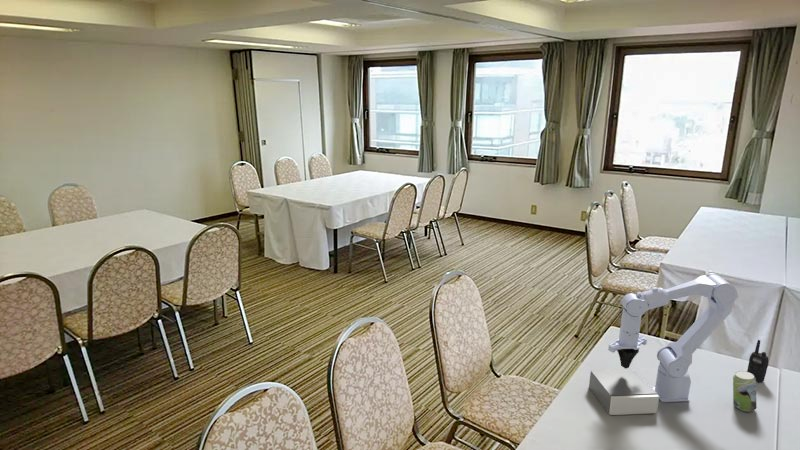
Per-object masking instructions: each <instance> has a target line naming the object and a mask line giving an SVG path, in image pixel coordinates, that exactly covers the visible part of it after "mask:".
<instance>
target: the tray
mask: <svg viewBox="0 0 800 450" xmlns="http://www.w3.org/2000/svg"><path fill="white" fill-rule="evenodd" d="M659 402H660V399H659V396H658V395H634V396H611V401H610V409H609V413H608V414H609V415H610V416H619V415H620V416H621V415H641V414H643V415H644V414H657V413H658V408H659V407H658V406H659Z"/></svg>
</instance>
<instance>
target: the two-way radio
mask: <svg viewBox="0 0 800 450" xmlns="http://www.w3.org/2000/svg"><path fill="white" fill-rule="evenodd" d="M760 345H761V339H757V342H756V346H755V350H754V351H753V352H751V354H750V355H749V359H748V365H747V370H746V372H749V373H752V374H753V375H754V377H755V378H756V381H757V383H759V384H760V383H764V382H765V377H766V374H767V370H768V366H769V357H768V356H767V353H766V351H762V352H761V353H760V347H761V346H760Z"/></svg>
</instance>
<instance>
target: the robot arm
mask: <svg viewBox="0 0 800 450" xmlns="http://www.w3.org/2000/svg"><path fill="white" fill-rule="evenodd" d="M695 295H698V296H699V295H700V296H702V297H705V298H707V299H708V303H709V306H708V307H707V308H706V309H705V310H704V311H703V313H702V314H701V315H699V317H698V318H697V319H696V320H695V321H694V322H693V324H691V325H690V326H689V328H688V329H686V331H685V332H684V333H683V334H682V335H681V336H680V337H679V338H678V340H677V341H671V342H668V344H667V345H665V346H663V347H660V349H658V351H657V353H656V358H657V360H658V361H659V364H658V366H657V367H658V368H657V374H656V381H655V386H650V387H651V388H652V389H653V390H654V391H655V392H656V393H657V395H658V396H659V401H660V402H662V403H671V402H672V403H675V402H676V403H677V402H689V401H690V399H689V395H690V389H691V384H692V383H691V381H692V380H691V377H690V374H689V373H688V370H689V367H690V365H692V364H693V354H694V353H695V352H696V350H698V349H699V347H700V346H701V345H702V344H703V343H704V342H705V341H706V340H707V339H708V338H709V337H710V336H711V335H712V334H713V332H714V331H715V330H717V328H718V327H719V326H720V325H721V324H722V323H723V322H724V321H725V320H726V319H727V318H728V317H729V315H731V313H732V311H733V307H734V303H735V302H736V300H738V298H739V295H738V291H737V288H736V287H735V285H733V284H731V283H729V281H727V280H726V279H724V278H723V277H722V276H721V274H720V275H719V274H718V273H714V272H711V273H710V272H709V273H708V274H706V275H705V274H704V275H699V276H698V277H697V278H695V279H693V280H689V281H686V282H684V283H681V284H678V285H675V286H672V287H669V288H666V289H665V288H662V287H657V286H654V287H652V288H651V289H649V290H645V291H638V292H636V293H632V292H630V293H626V294H625V295H623V297H622V298H621V299H620V304H621V305H622V314H621V319H620V328H619V335H618V339H617V340H615V341H613V342H612V343H611V344H608V349H607V350H608V351H609V352H610V353H612V354H613V353H615V352H617V353H618V357H619V359H620V366H621V367H622V368H624V369H630V366H631V364H632V362H633V360H634V358H635V357H636V356H637V355H638V353H639V352H640V351H639V350H640V346H641V345H643V346H645V345H647V344H648V343H647V342H648V339H647V338H645V337H644V336H640V331H641V324H642V316H643V315H644V314H646V312H647V311H650V310H652V309H656V308H659V307H663V306H667V305H668V304H669V302H671V300H676V299H681V298H686V297H691V296H695Z"/></svg>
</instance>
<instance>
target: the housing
mask: <svg viewBox="0 0 800 450" xmlns="http://www.w3.org/2000/svg"><path fill="white" fill-rule="evenodd" d="M589 373H590V374H589V375H590V376H589V384H588V388H589V389H590V391H591V392H592V393H593V395H594V396H595V397H596V399H597V400H598V401H599V403H600V404H601V406H602V407H603V408H604V409H605V410H606V412H607V413H608V414H609V409H610V401H611V396H634V395H657V393H656V392H655V391H654V390H653V389H652V388H651V387H652V386H651V385H649V383H648V382H647V381H646V380H645V379H644V378H643V377H642V376H641V375H640V374H639V373H638V372H637V371H636V370H635V369H634V368H626V369H625V368H624V369H623V368H622V369H602V370H601V369H599V370H598V369H596V370H594V369H593V370H590V372H589Z"/></svg>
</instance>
